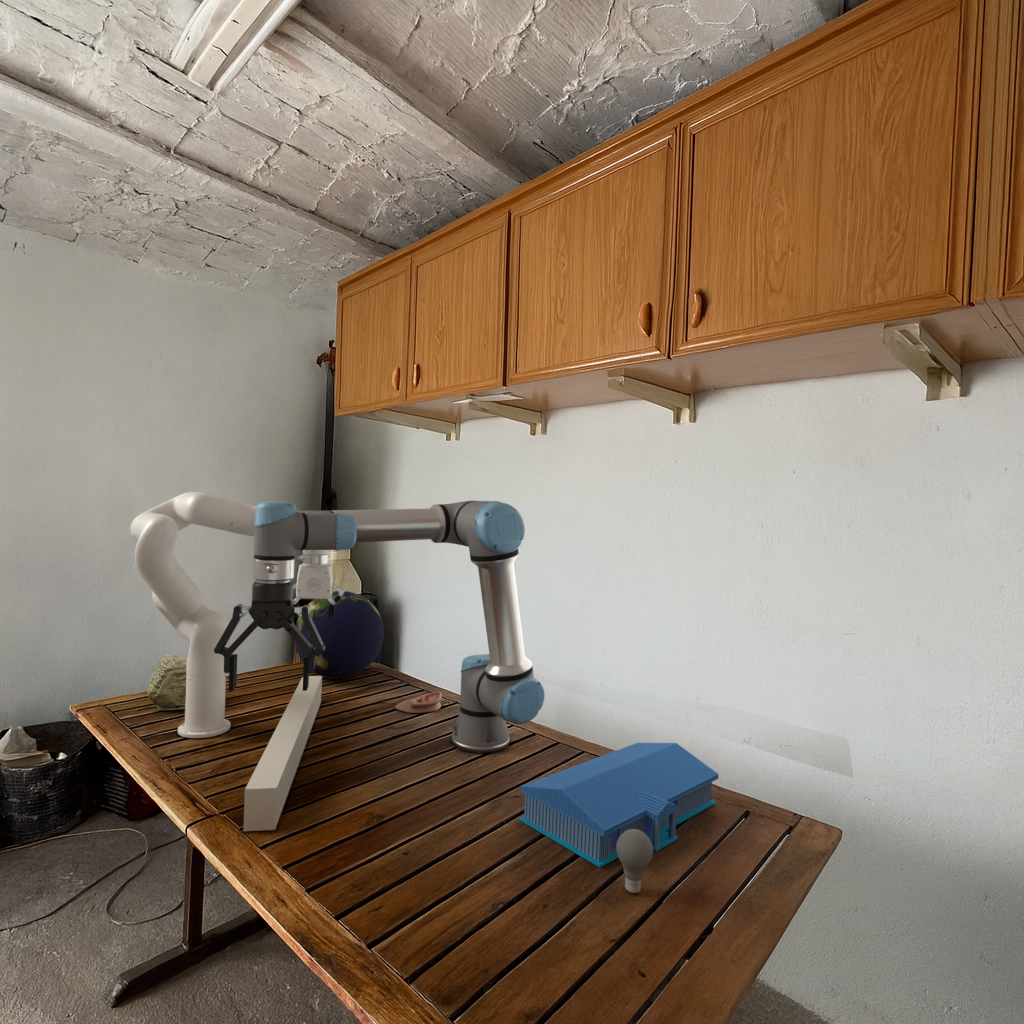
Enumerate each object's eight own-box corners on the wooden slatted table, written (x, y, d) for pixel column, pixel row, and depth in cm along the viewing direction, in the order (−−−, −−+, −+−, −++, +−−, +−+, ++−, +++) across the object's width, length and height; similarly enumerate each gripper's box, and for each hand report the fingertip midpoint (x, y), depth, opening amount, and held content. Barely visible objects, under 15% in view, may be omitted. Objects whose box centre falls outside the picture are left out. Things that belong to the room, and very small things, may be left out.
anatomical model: (391, 697, 188) (405, 686, 200) (390, 710, 188) (404, 699, 200) (433, 702, 186) (445, 691, 197) (433, 715, 186) (445, 703, 197)
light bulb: (610, 879, 108) (613, 822, 108) (644, 879, 109) (647, 822, 109) (619, 902, 102) (622, 840, 102) (655, 901, 103) (658, 840, 103)
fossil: (144, 707, 182) (145, 655, 182) (212, 696, 194) (213, 647, 194) (151, 716, 175) (153, 662, 175) (221, 703, 188) (223, 653, 188)
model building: (614, 876, 110) (616, 818, 109) (518, 819, 128) (520, 770, 127) (729, 809, 136) (731, 762, 136) (635, 769, 154) (637, 729, 154)
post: (301, 702, 193) (302, 676, 193) (321, 702, 194) (322, 675, 194) (243, 831, 119) (244, 789, 119) (275, 830, 120) (276, 787, 120)
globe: (273, 681, 212) (276, 592, 212) (330, 661, 240) (333, 582, 239) (347, 695, 201) (350, 601, 200) (398, 673, 229) (401, 590, 228)
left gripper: (283, 560, 183) (280, 619, 183) (344, 562, 186) (342, 620, 186) (287, 558, 190) (285, 614, 190) (346, 559, 193) (344, 615, 193)
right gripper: (198, 582, 117) (194, 695, 118) (337, 584, 122) (333, 694, 122) (210, 576, 125) (206, 683, 125) (341, 579, 129) (337, 682, 130)
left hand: (313, 617), depth 188 cm, fingers open, 9 cm apart
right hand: (269, 689), depth 124 cm, fingers open, 13 cm apart
